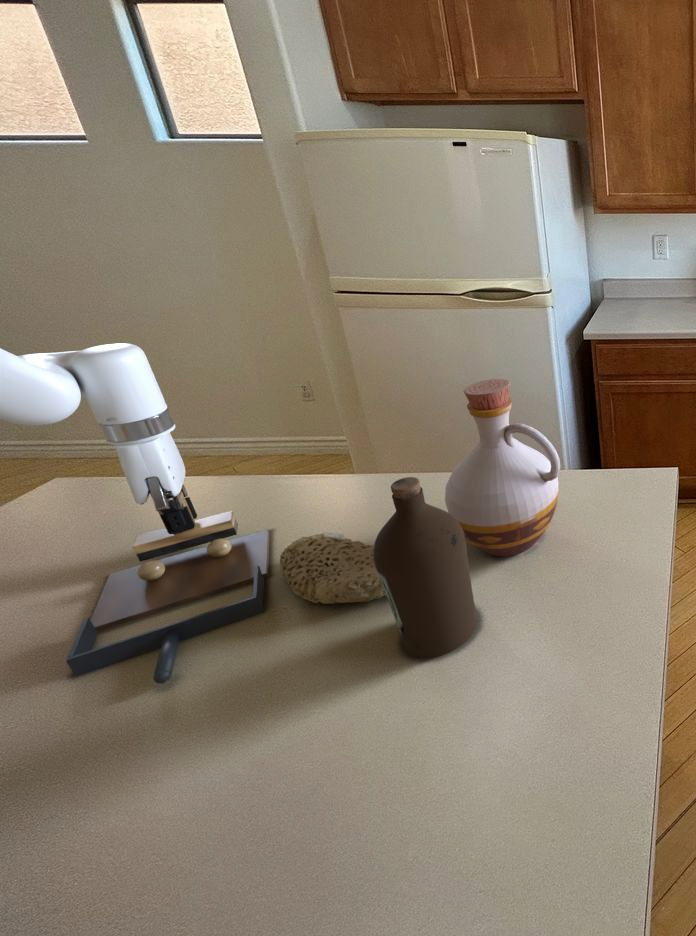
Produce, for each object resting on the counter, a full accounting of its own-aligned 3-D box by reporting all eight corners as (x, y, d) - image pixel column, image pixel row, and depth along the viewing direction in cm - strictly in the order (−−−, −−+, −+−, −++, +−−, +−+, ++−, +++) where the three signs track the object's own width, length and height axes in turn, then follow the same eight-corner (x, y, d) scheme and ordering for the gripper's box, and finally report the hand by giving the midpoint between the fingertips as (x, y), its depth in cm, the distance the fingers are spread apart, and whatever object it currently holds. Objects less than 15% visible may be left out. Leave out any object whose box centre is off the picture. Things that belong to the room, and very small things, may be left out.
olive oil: (481, 597, 85) (452, 455, 75) (483, 649, 76) (451, 496, 66) (403, 617, 81) (361, 471, 71) (396, 675, 72) (347, 516, 62)
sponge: (277, 587, 88) (310, 631, 75) (271, 540, 87) (303, 576, 74) (370, 560, 98) (414, 594, 84) (366, 518, 97) (409, 546, 83)
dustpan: (94, 636, 77) (83, 618, 76) (265, 581, 87) (258, 564, 86) (56, 732, 64) (43, 713, 63) (261, 655, 74) (254, 636, 73)
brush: (238, 524, 97) (220, 480, 93) (236, 534, 94) (218, 490, 90) (143, 550, 90) (120, 504, 86) (139, 562, 87) (116, 514, 84)
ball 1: (140, 587, 84) (132, 572, 83) (143, 576, 86) (136, 561, 85) (166, 579, 86) (159, 564, 85) (169, 568, 88) (162, 553, 87)
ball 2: (209, 563, 89) (203, 548, 88) (211, 553, 91) (205, 539, 90) (233, 556, 91) (227, 541, 90) (234, 547, 93) (228, 532, 92)
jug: (589, 519, 103) (575, 370, 92) (545, 586, 87) (521, 415, 76) (493, 508, 107) (468, 361, 95) (434, 569, 90) (394, 402, 79)
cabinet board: (89, 636, 77) (85, 630, 76) (112, 579, 87) (109, 573, 87) (269, 579, 88) (266, 573, 87) (270, 534, 98) (268, 528, 98)
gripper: (115, 413, 87) (160, 510, 95) (89, 453, 75) (143, 561, 83) (179, 402, 91) (217, 495, 99) (164, 439, 79) (209, 542, 87)
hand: (183, 524), depth 91 cm, fingers closed on brush, 2 cm apart
